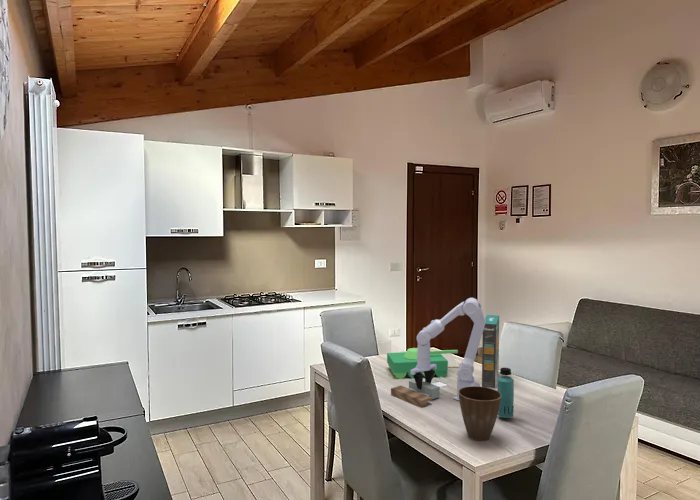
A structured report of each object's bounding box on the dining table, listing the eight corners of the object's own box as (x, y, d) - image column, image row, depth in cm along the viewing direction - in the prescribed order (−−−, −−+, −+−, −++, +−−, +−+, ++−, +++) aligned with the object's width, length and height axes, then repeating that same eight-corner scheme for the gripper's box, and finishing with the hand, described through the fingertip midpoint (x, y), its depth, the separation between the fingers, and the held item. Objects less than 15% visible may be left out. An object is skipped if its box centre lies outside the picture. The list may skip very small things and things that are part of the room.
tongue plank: (439, 397, 216) (439, 386, 216) (429, 400, 212) (429, 390, 212) (416, 388, 227) (416, 378, 227) (406, 391, 224) (406, 381, 223)
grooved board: (431, 404, 209) (431, 397, 209) (421, 407, 206) (421, 400, 206) (400, 391, 224) (400, 385, 224) (390, 394, 221) (390, 388, 221)
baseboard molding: (437, 369, 260) (460, 369, 260) (437, 363, 260) (460, 364, 259) (429, 353, 291) (449, 353, 291) (429, 348, 291) (449, 348, 290)
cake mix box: (486, 373, 251) (486, 314, 250) (498, 374, 249) (499, 315, 247) (481, 386, 231) (482, 323, 229) (495, 388, 229) (496, 324, 227)
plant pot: (480, 424, 189) (480, 383, 188) (509, 439, 176) (510, 395, 175) (449, 432, 182) (449, 390, 181) (478, 449, 168) (478, 403, 167)
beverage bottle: (502, 422, 190) (503, 371, 189) (493, 416, 197) (493, 366, 195) (517, 420, 192) (518, 370, 191) (507, 414, 198) (508, 365, 197)
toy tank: (463, 352, 246) (394, 355, 242) (462, 376, 246) (394, 380, 242) (451, 343, 263) (387, 346, 259) (451, 366, 264) (387, 368, 260)
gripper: (428, 352, 227) (428, 381, 228) (405, 358, 218) (405, 388, 219) (440, 356, 222) (439, 385, 222) (417, 361, 213) (416, 392, 214)
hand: (423, 387), depth 220 cm, fingers closed on tongue plank, 5 cm apart
